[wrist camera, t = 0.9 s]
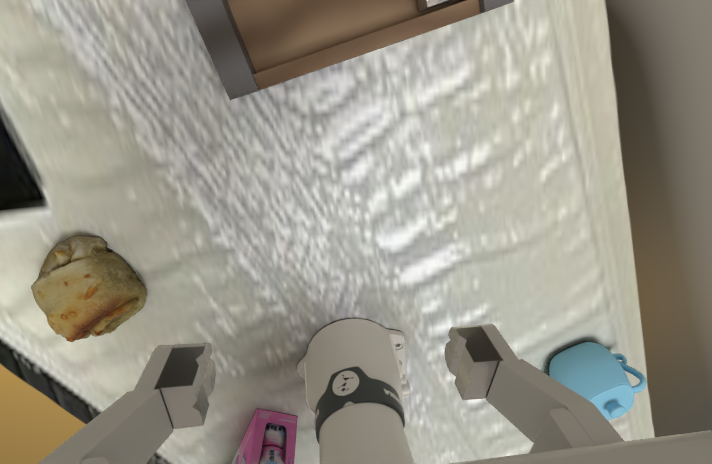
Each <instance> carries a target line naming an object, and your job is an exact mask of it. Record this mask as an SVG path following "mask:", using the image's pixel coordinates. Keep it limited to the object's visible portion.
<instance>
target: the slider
mask: <svg viewBox="0 0 712 464" xmlns="http://www.w3.org/2000/svg"><path fill="white" fill-rule="evenodd" d="M451 1H453V0H417V5H418V10H419V12H422V11H425V10H428V9H430V8H433V7H436V6H439V5H442V4H445V3H448V2H451Z"/></svg>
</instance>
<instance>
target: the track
mask: <svg viewBox="0 0 712 464" xmlns="http://www.w3.org/2000/svg"><path fill="white" fill-rule="evenodd" d="M186 2H187V5H188V7H189V9H190V11H191V13H192V16H193V18H194V20H195V22H196V25H197V27H198V29H199V31H200V34H201V36H202V38H203V40H204V43H205V45H206V47H207V49H208V51H209V54H210V56H211V58H212V60H213V63H214V65H215V67H216V69H217V72H218V74H219V76H220V78H221V80H222V83H223V85H224V87H225V89H226V92H227V94H228V96H229V98H230V100H231V99H235V98H238V97H241V96H244V95H247V94H250V93H253V92H256V91H259V90H262V89H264V88H267V87H270V86H273V85H276V84H279V83H282V82H285V81H287V80H290V79H293V78H296V77H299V76H302V75H305V74H308V73H311V72H313V71H316V70H319V69H322V68H325V67H328V66H331V65H334V64H337V63H339V62H342V61H345V60H348V59H351V58H354V57H357V56H360V55H363V54H365V53H368V52H371V51H374V50H377V49H380V48H383V47H386V46H389V45H391V44H394V43H397V42H400V41H403V40H406V39H409V38H412V37H414V36H417V35H420V34H423V33H426V32H429V31H432V30H435V29H438V28H440V27H443V26H446V25H449V24H452V23H455V22H458V21H461V20H464V19H466V18H469V17H472V16H475V15H478V14H481V13H484V12H487V11H490V10H492V9H495V8H498V7H500V6H503V5H506V4H509V3H511V2H514V0H453V1H451V2H448V3H445V4H442V5H439V6H436V7H433V8H430V9H428V10H425V11H422V12H419V10H418V5H417V0H186Z"/></svg>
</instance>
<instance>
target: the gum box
mask: <svg viewBox="0 0 712 464" xmlns="http://www.w3.org/2000/svg"><path fill="white" fill-rule="evenodd" d="M296 429H297V416H292V415H287V414H283V413H278V412H273V411H267V410H262V409H257V410H256V413H255V415H254V417H253V419H252V421H251V423H250V425H249V427H248V429H247V432H246V434H245V436H244V438H243V440H242V442H241V444H240V446H239V448H238V450H237V452H236V454H235V456H234V459H233V461H232V463H231V464H294V457H295V443H296Z"/></svg>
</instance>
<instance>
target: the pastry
mask: <svg viewBox="0 0 712 464" xmlns="http://www.w3.org/2000/svg"><path fill="white" fill-rule="evenodd" d="M31 289H32V291H33V295H34V298H35V301H36V303H37V304H38V306H39V307H40V308H41V310H42V311H43V312H44V313H45V314H46V316H47V320H48V323H49V325H50V327H51V328H52V329H53V330H54V331H55V332H56V334H61V335H62V336H63V337H65V338H66V339H67V341H70V342H73V341H75V340H79V339H83V338H87V337H89V336H90V334H91V335H93V336H100V335H104V334H105V333H111V332H112V331H114V330H115V329H116V328H117V327H118V326H119V325H120V324H121V323H123V322H125V321H126V320H128V319H129V318H130V317H131V316H133V315H135V314H136V313H137V312H138V311H140V310H141V309H142V308H143V306H144V304H145V302H146V295H147V294H146V289H145V287H144V286H143V284H142V283H141V281H140V280H139V278H138V276H137V275H136V272H135V271H133V269H132V268H131V267H130V266H129V265H127V264H126V263H125V262H124V260H123V259H122V258H120V257H119V256H118V255H117V254H115V253H113V252H112V250H110V249H107V243H106V242H105V241H104V240H103V239H102V238H100V237H93V236H92V237H89V236H74V237H72V238H69V239H67V240H65V241H63V242H61V243H59V244H57V245H56V246H55V247H54V248H53V249H52V250H51V251H50V252H49V254H48V255H47V258H46V259H45V261H44V264H43V266H42V268H41V271H40V273H39V277H38V279H37V280H36V281H35V282H34V284H33V285H32V286H31Z"/></svg>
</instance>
